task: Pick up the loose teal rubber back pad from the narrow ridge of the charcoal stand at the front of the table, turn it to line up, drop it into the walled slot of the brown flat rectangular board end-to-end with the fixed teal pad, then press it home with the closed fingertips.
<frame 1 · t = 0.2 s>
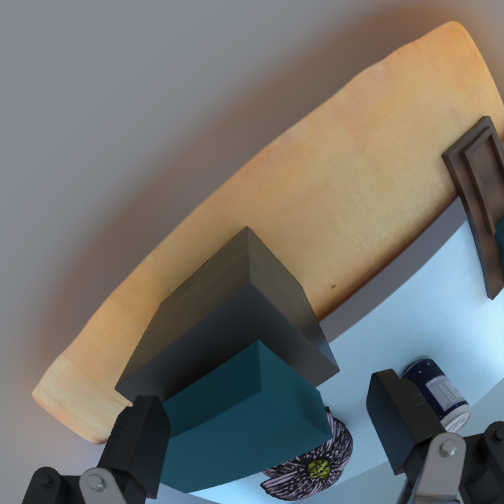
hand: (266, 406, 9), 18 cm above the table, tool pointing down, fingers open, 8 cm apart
brown flat rectangular board: (494, 212, 25), on the table
pad stand: (228, 295, 27), on the table
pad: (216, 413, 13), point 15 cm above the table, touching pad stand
decorative flower: (302, 430, 34), on the table
beverage can: (415, 370, 32), on the table
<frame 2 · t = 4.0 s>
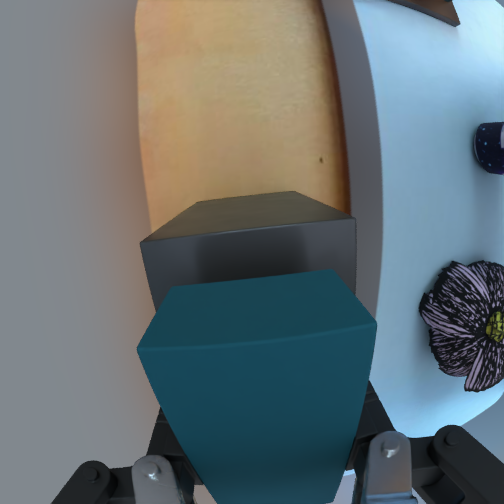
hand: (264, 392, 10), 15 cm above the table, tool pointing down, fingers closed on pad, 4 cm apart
pad stand: (253, 266, 24), on the table
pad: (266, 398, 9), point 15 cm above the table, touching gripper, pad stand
decorative flower: (456, 304, 26), on the table
beverage can: (483, 148, 21), on the table
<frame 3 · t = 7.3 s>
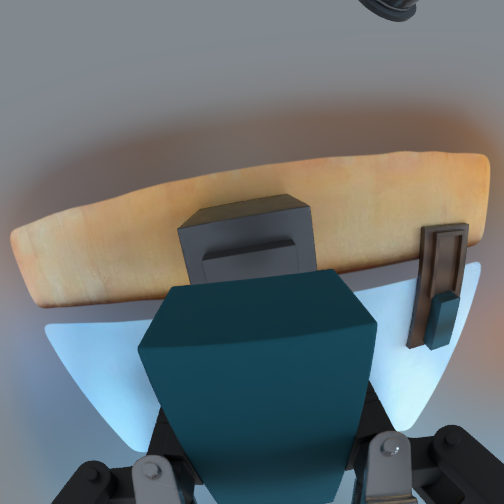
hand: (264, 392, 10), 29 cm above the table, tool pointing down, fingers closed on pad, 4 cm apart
brown flat rectangular board: (438, 287, 41), on the table
pad stand: (248, 230, 38), on the table
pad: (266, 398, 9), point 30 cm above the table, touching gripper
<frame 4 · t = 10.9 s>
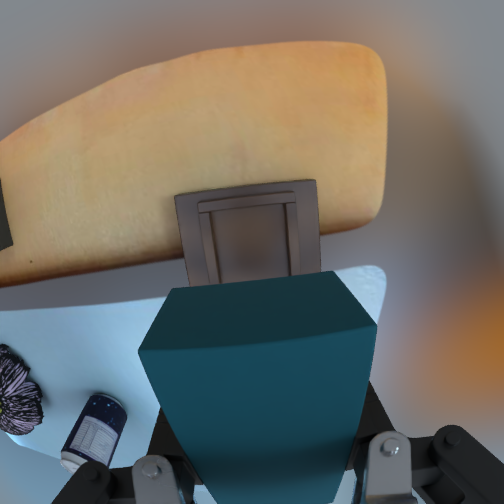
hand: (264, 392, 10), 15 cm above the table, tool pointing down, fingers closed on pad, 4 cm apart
brown flat rectangular board: (259, 314, 25), on the table
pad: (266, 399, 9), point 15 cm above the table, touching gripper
decorative flower: (19, 376, 28), on the table
beverage can: (110, 404, 29), on the table
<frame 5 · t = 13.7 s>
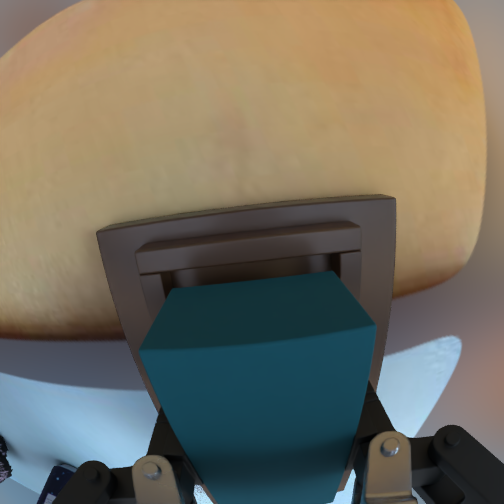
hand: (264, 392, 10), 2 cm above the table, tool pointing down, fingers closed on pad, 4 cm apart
brown flat rectangular board: (269, 419, 13), on the table
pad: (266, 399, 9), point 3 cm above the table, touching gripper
beverage can: (79, 473, 17), on the table
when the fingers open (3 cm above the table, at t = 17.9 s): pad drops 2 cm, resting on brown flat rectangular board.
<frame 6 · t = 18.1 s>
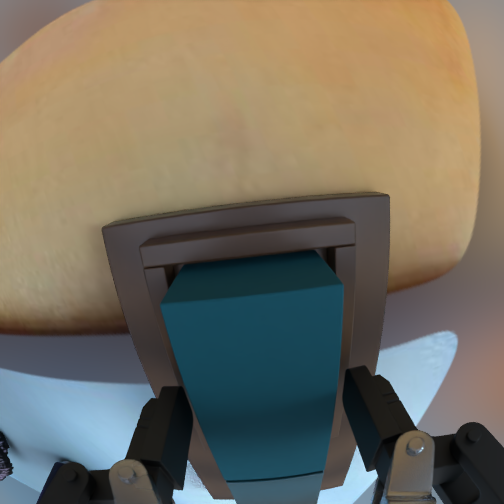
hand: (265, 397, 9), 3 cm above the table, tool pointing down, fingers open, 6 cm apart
brown flat rectangular board: (268, 412, 14), on the table
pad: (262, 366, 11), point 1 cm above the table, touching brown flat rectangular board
beverage can: (80, 470, 18), on the table
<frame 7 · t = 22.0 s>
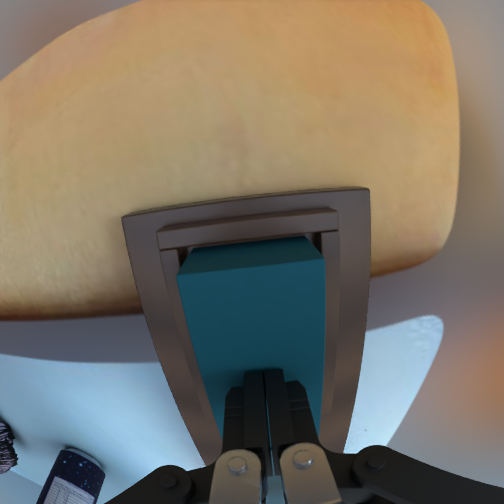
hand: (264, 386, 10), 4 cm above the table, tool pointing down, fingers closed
brown flat rectangular board: (266, 389, 16), on the table
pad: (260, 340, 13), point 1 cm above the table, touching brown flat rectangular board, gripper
beverage can: (85, 457, 20), on the table
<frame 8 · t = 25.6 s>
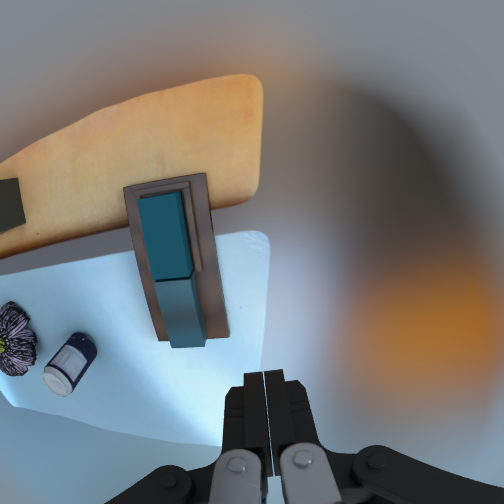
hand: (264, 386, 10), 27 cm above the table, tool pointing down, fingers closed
brown flat rectangular board: (178, 264, 37), on the table
pad stand: (3, 209, 33), on the table
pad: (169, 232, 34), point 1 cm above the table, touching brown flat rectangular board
decorative flower: (20, 329, 40), on the table
beverage can: (86, 343, 41), on the table
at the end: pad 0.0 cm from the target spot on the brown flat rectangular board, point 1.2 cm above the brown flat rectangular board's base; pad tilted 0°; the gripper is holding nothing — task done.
